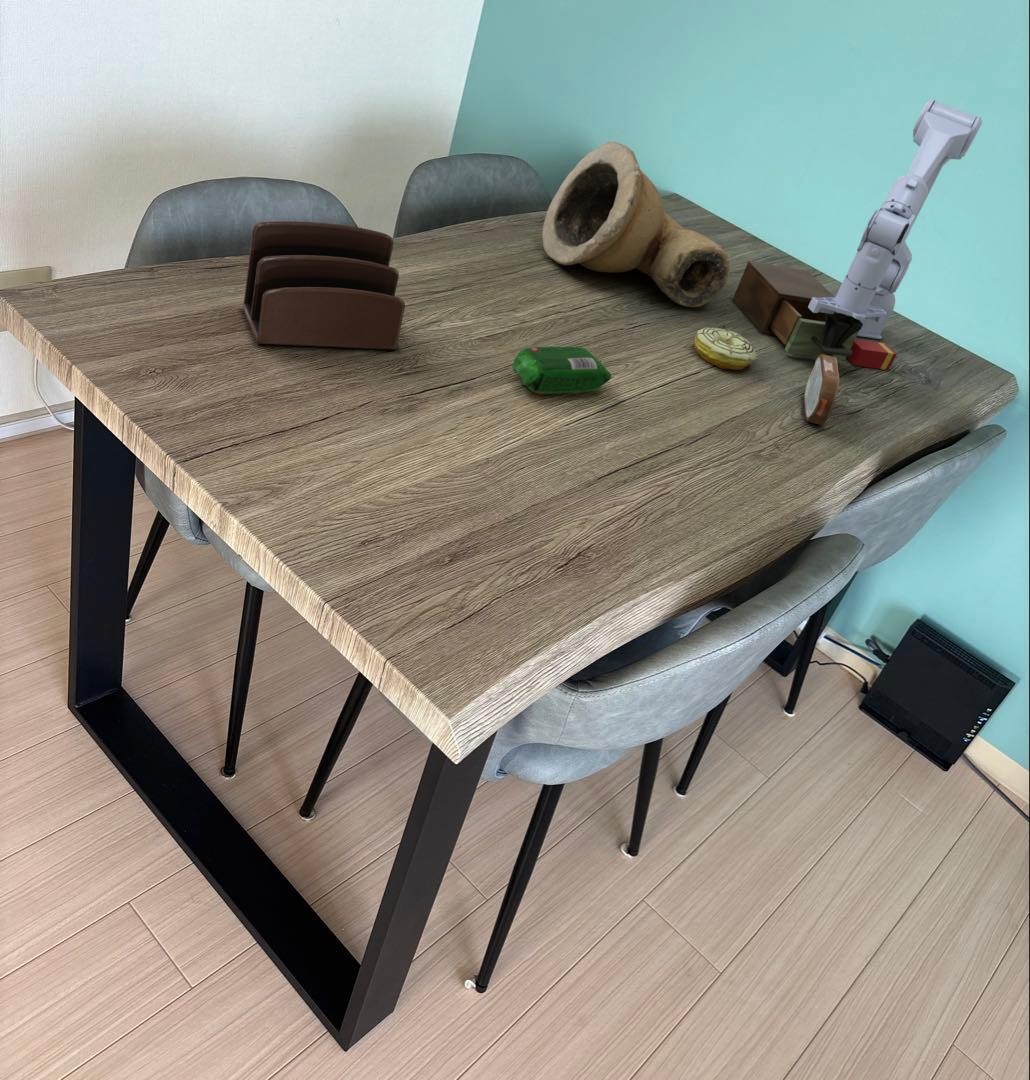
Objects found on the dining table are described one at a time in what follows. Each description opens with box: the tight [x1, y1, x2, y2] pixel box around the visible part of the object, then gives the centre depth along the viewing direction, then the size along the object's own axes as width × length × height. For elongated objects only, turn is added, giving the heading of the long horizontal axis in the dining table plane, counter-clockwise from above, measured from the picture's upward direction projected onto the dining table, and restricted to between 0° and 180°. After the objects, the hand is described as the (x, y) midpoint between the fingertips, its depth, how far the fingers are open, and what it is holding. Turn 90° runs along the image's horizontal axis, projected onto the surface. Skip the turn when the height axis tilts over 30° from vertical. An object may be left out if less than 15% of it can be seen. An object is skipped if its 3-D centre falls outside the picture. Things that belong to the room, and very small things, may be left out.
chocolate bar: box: [845, 339, 898, 371], centre depth 189 cm, size 8×4×3 cm, turn 105°
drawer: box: [769, 298, 860, 362], centre depth 184 cm, size 17×12×6 cm
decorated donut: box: [694, 327, 757, 371], centre depth 173 cm, size 10×11×4 cm
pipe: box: [541, 141, 731, 308], centre depth 190 cm, size 23×29×30 cm
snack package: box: [511, 346, 612, 395], centre depth 148 cm, size 7×16×5 cm, turn 118°
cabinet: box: [731, 260, 836, 337], centre depth 193 cm, size 14×14×8 cm
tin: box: [803, 354, 840, 427], centre depth 164 cm, size 15×3×8 cm, turn 168°
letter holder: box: [242, 220, 406, 351], centre depth 140 cm, size 10×20×14 cm, turn 113°
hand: (826, 352), depth 181 cm, fingers closed, pressing on drawer
